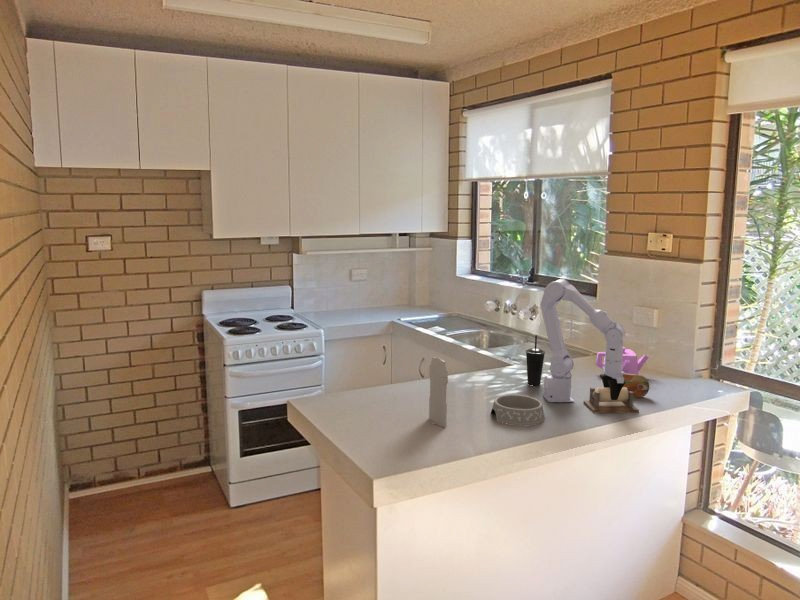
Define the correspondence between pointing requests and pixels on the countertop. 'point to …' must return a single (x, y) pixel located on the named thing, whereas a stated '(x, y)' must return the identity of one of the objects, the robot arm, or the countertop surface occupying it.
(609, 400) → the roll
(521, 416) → the dog bowl
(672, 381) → the countertop surface
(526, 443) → the countertop surface
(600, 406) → the holder
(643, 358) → the teakettle
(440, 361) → the dispenser
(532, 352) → the drinking cup
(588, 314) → the robot arm
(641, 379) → the tin
